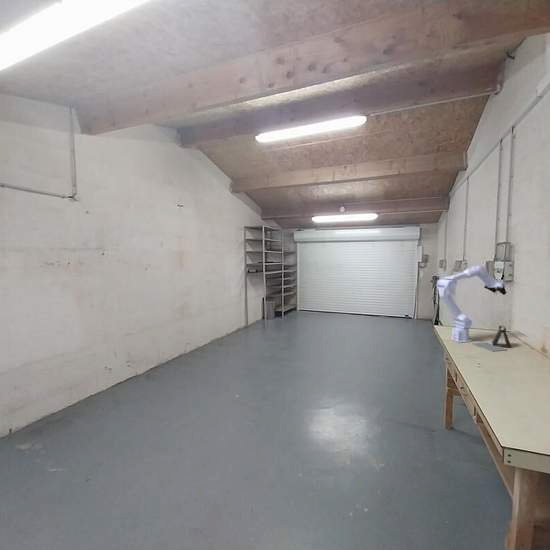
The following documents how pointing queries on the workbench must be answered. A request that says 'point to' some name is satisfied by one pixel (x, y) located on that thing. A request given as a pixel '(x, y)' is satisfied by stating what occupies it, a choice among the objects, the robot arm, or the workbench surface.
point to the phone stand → (495, 341)
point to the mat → (489, 346)
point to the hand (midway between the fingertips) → (500, 292)
